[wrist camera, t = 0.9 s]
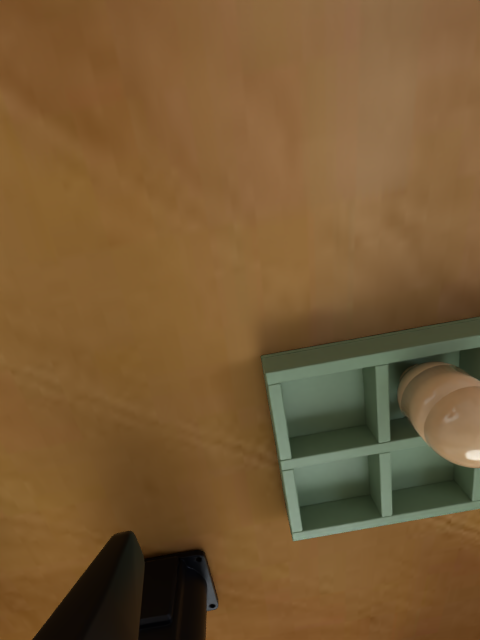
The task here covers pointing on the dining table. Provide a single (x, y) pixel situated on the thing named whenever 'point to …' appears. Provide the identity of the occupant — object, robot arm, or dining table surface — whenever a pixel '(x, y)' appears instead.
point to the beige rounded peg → (443, 409)
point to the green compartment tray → (364, 431)
